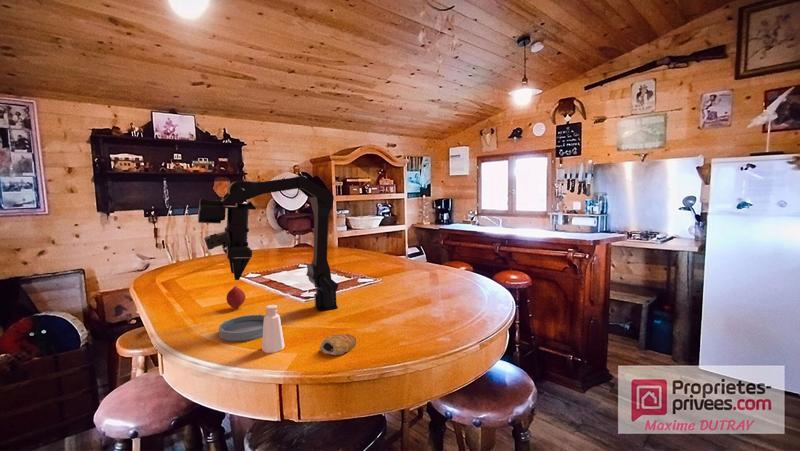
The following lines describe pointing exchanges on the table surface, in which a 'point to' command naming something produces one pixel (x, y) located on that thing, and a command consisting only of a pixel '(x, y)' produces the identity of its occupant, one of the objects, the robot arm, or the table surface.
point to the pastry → (338, 344)
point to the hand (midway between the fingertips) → (235, 276)
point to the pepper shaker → (272, 331)
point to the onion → (235, 297)
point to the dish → (242, 328)
